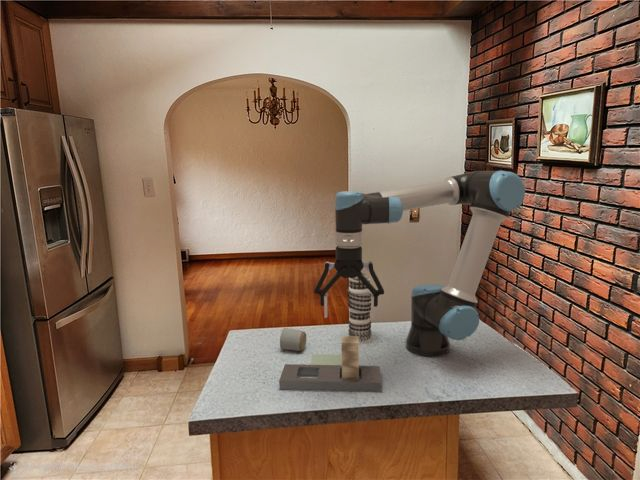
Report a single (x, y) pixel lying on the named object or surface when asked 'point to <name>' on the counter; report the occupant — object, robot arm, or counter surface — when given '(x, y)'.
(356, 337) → the peg
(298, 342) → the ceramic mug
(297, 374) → the grey flat slotted plate
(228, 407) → the counter surface
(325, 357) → the mat
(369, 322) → the decorative candle
